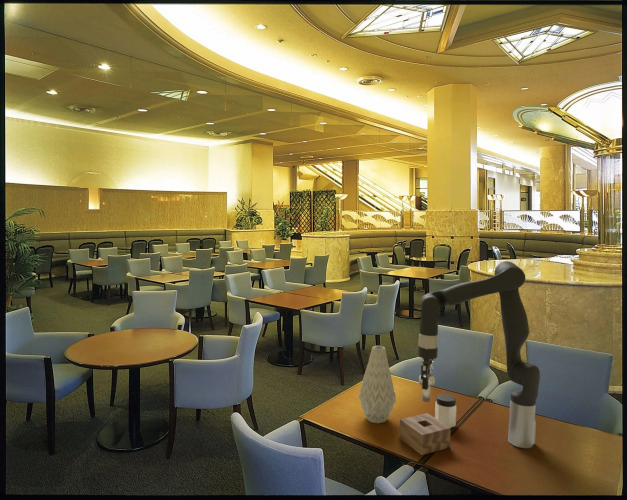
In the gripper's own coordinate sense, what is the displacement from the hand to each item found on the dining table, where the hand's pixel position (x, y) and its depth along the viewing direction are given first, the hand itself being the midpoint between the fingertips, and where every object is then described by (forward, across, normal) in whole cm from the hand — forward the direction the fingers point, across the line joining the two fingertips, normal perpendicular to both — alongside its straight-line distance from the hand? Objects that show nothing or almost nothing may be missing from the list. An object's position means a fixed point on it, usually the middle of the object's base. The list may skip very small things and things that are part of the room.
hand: (426, 386), depth 176 cm
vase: (+24, -12, -23) cm, 35 cm away
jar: (+24, -20, +5) cm, 32 cm away
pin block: (+24, 0, 0) cm, 24 cm away
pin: (+6, 0, 0) cm, 6 cm away
